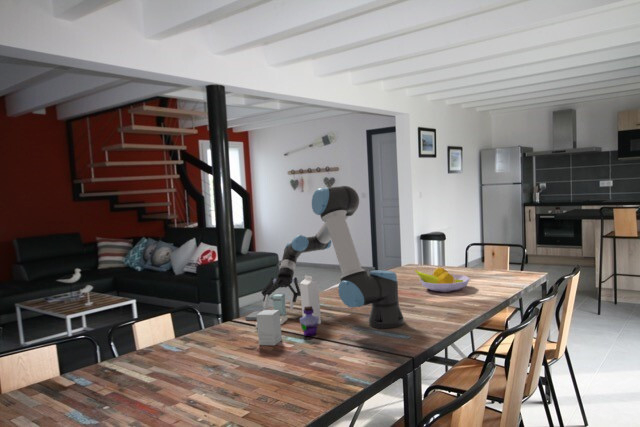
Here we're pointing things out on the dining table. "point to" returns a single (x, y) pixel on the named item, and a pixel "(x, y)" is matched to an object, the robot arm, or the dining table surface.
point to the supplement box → (269, 327)
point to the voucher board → (282, 319)
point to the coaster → (252, 315)
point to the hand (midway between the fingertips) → (277, 307)
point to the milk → (310, 296)
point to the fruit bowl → (443, 280)
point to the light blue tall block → (279, 303)
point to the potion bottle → (309, 322)
